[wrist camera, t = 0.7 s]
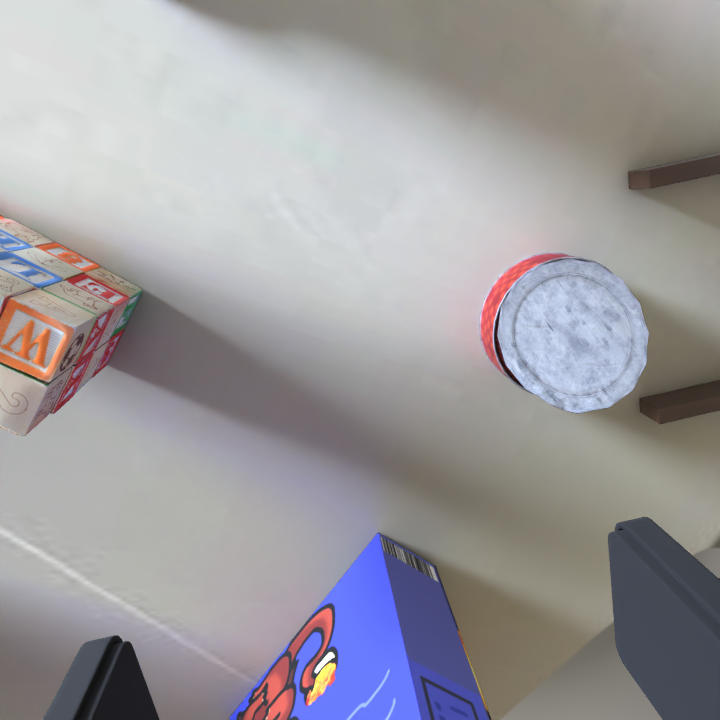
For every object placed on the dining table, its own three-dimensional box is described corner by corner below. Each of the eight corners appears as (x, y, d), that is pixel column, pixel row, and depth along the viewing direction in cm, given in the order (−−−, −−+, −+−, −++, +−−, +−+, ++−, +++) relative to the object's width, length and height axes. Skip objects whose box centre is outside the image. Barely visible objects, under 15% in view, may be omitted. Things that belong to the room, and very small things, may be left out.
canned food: (462, 333, 45) (436, 337, 36) (545, 232, 42) (541, 207, 33) (575, 426, 42) (579, 456, 33) (671, 324, 40) (706, 327, 30)
